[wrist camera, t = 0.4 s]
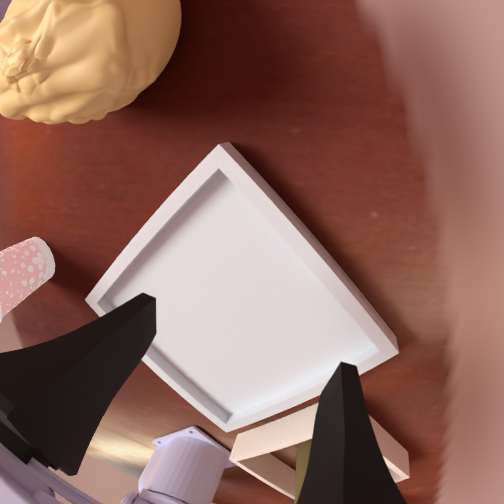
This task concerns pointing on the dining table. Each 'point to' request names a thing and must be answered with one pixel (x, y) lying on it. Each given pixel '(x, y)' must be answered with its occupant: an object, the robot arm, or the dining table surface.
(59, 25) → the sculpture
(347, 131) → the dining table surface
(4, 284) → the beverage cup
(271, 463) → the cream bin
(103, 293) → the light grey tray
